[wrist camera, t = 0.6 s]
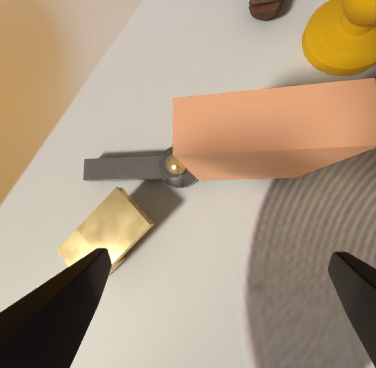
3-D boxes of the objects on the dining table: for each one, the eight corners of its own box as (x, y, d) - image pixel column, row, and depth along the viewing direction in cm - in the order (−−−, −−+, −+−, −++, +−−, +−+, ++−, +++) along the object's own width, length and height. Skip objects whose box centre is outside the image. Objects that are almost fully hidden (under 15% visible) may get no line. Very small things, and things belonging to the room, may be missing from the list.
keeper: (133, 189, 22) (116, 187, 19) (162, 221, 21) (150, 224, 18) (82, 243, 23) (56, 250, 19) (108, 276, 22) (86, 290, 18)
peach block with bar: (291, 186, 19) (384, 161, 8) (90, 189, 23) (-33, 176, 12) (289, 142, 19) (373, 62, 8) (92, 153, 23) (-25, 107, 12)
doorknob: (289, 25, 21) (366, -9, 20) (320, 88, 20) (404, 55, 19) (324, -69, 14) (448, -131, 13) (376, 21, 13) (518, -39, 12)
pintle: (188, 175, 20) (185, 173, 18) (168, 175, 20) (165, 173, 19) (188, 155, 20) (185, 152, 19) (169, 156, 20) (165, 153, 19)
